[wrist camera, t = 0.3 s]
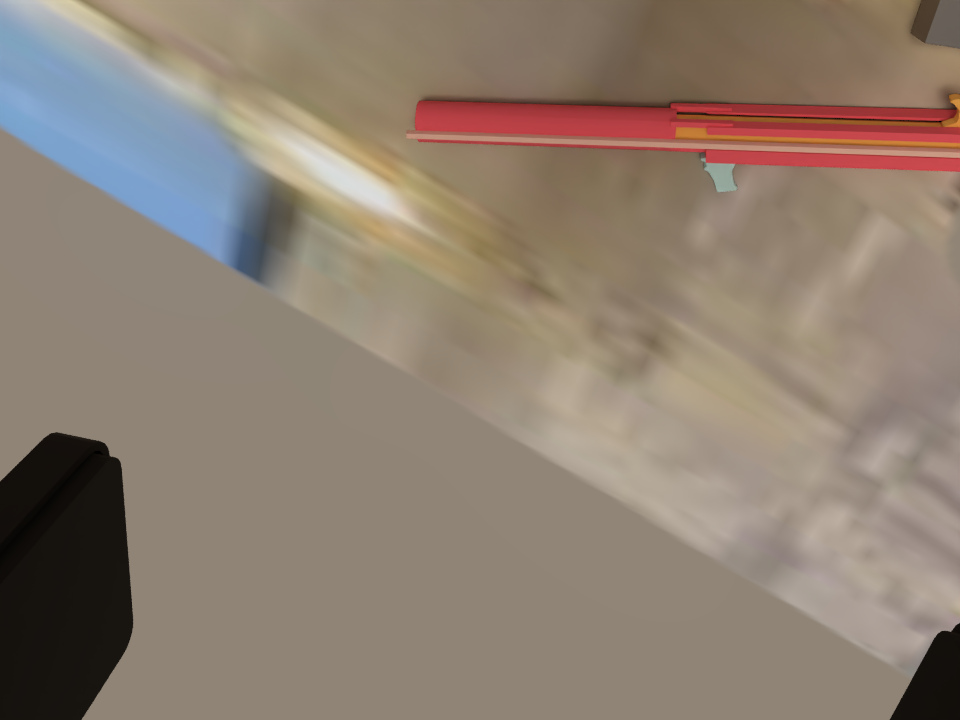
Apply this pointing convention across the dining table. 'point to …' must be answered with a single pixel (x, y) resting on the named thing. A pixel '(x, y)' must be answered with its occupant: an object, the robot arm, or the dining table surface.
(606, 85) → the dining table surface
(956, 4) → the button pad
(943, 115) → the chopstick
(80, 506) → the robot arm
